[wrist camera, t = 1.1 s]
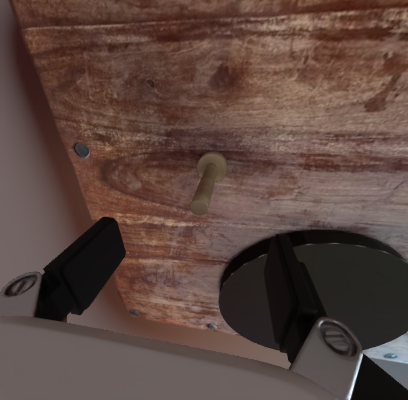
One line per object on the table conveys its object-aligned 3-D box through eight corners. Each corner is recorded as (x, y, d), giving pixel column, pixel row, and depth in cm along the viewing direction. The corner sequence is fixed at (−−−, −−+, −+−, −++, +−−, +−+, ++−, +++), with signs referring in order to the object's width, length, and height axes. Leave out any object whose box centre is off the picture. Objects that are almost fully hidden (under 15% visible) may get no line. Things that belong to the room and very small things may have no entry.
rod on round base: (198, 150, 21) (174, 185, 13) (228, 151, 21) (224, 188, 12) (198, 178, 23) (177, 224, 15) (226, 179, 23) (221, 229, 14)
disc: (468, 244, 22) (499, 263, 20) (356, 349, 37) (365, 367, 35) (228, 216, 26) (227, 230, 23) (214, 323, 41) (213, 338, 38)
